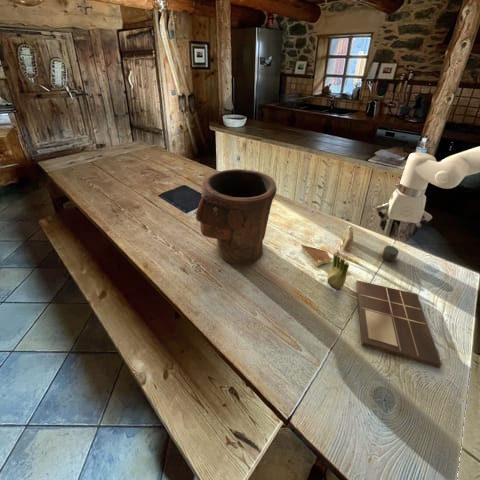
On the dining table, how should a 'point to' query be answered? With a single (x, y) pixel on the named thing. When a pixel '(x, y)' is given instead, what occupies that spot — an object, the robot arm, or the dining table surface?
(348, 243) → the tan figurine
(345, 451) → the dining table surface
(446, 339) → the dining table surface
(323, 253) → the shard
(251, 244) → the clay pot
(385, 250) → the slate stone
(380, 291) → the game board
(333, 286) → the fennel bulb
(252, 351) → the dining table surface
